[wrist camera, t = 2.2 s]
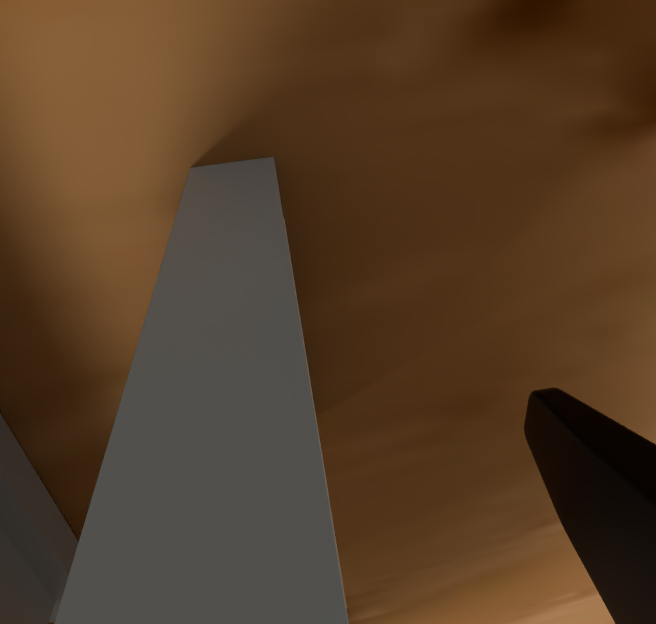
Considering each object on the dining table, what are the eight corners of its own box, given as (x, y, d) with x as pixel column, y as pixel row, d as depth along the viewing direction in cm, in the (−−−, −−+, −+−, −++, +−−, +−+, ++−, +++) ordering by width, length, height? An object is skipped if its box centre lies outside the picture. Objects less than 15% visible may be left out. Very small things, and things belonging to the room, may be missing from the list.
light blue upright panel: (313, 418, 14) (395, 944, 6) (252, 428, 14) (259, 974, 6) (274, 156, 10) (364, 704, 2) (189, 167, 10) (6, 777, 2)
